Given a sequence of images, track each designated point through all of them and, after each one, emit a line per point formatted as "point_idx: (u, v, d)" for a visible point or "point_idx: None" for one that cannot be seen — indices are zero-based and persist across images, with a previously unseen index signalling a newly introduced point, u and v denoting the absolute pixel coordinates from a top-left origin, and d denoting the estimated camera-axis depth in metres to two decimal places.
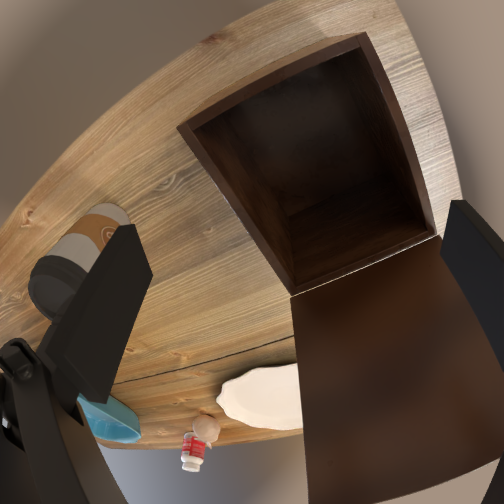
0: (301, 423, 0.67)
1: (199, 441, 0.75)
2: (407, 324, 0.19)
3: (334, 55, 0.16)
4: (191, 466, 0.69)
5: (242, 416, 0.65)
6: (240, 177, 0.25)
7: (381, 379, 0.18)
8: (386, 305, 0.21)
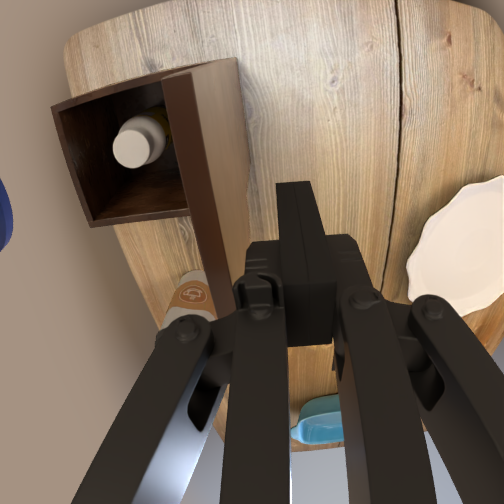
0: None
1: None
2: None
3: (62, 129, 0.24)
4: None
5: (469, 306, 0.51)
6: (150, 198, 0.33)
7: None
8: None
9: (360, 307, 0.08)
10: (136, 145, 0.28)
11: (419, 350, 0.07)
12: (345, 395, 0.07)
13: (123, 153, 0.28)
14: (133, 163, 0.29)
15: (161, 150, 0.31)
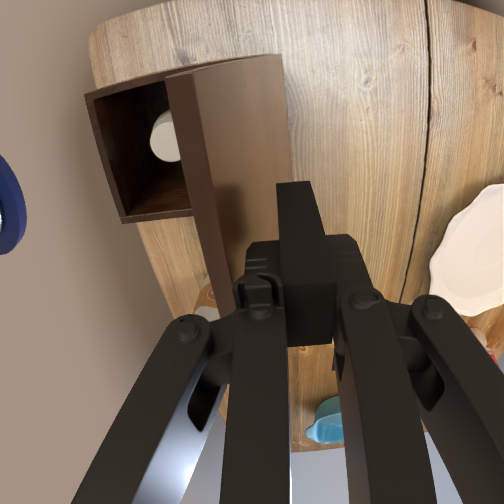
0: None
1: None
2: None
3: (96, 119, 0.24)
4: None
5: (484, 304, 0.51)
6: (186, 193, 0.32)
7: None
8: None
9: (361, 307, 0.08)
10: None
11: (419, 350, 0.07)
12: (345, 395, 0.07)
13: (161, 146, 0.28)
14: (172, 156, 0.28)
15: None
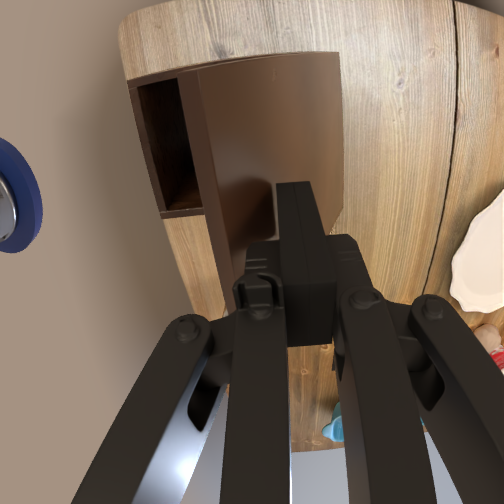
0: None
1: (497, 353, 0.60)
2: None
3: (139, 107, 0.24)
4: None
5: (499, 301, 0.50)
6: None
7: None
8: None
9: (361, 307, 0.08)
10: None
11: (419, 350, 0.07)
12: (345, 395, 0.07)
13: None
14: None
15: None
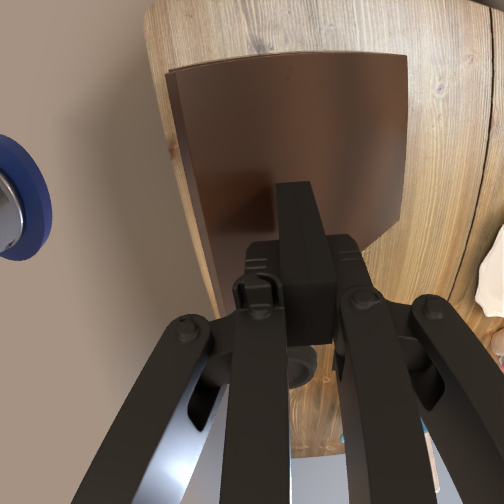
0: None
1: None
2: None
3: None
4: None
5: None
6: None
7: None
8: None
9: (361, 307, 0.08)
10: None
11: (419, 350, 0.07)
12: (345, 395, 0.07)
13: None
14: None
15: None
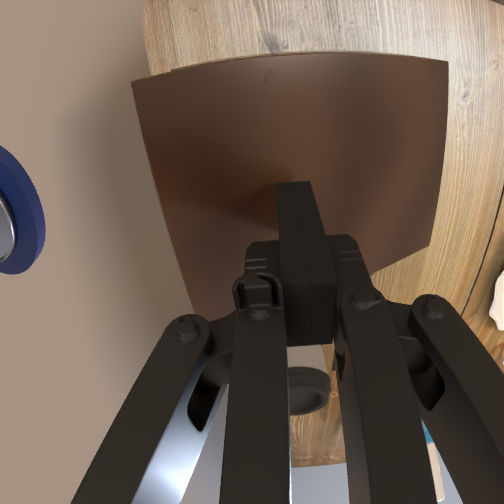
0: None
1: None
2: None
3: None
4: None
5: None
6: None
7: None
8: None
9: (361, 307, 0.08)
10: None
11: (419, 350, 0.07)
12: (346, 395, 0.07)
13: None
14: None
15: None
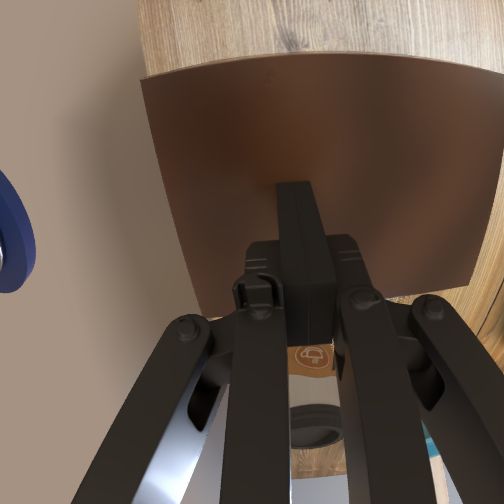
0: None
1: None
2: None
3: None
4: None
5: None
6: None
7: None
8: None
9: (361, 307, 0.08)
10: None
11: (419, 350, 0.07)
12: (345, 395, 0.07)
13: None
14: None
15: None
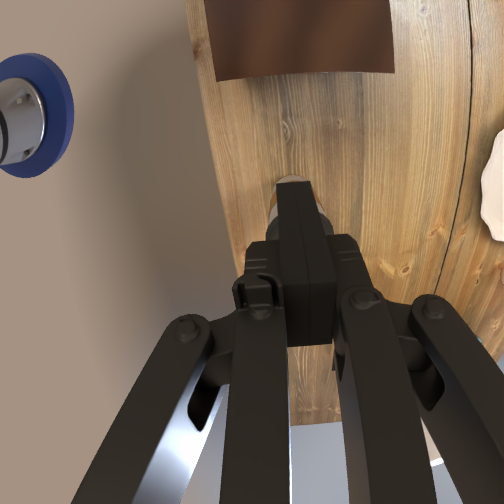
0: None
1: None
2: None
3: None
4: None
5: None
6: None
7: None
8: None
9: (361, 307, 0.08)
10: None
11: (419, 350, 0.07)
12: (345, 395, 0.07)
13: None
14: None
15: None
